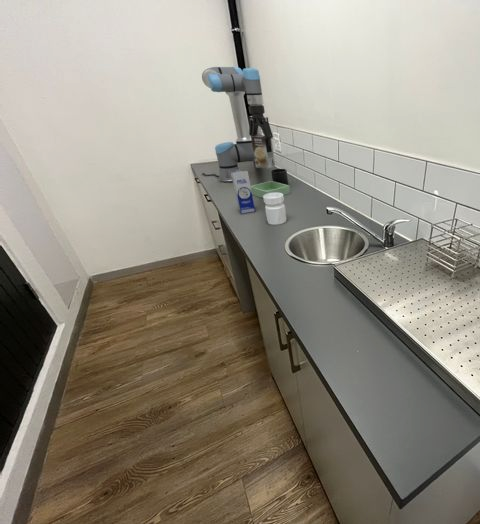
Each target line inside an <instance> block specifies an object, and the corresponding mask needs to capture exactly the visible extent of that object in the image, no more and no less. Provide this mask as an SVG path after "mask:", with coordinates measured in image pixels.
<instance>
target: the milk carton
mask: <svg viewBox="0 0 480 524" xmlns="http://www.w3.org/2000/svg"><path fill="white" fill-rule="evenodd" d="M231 176H232V180H233V182H232V185H233V188H234V193H235V199H236V203H237V206H238V211H239V212H240V215H245V214H251V213H255V212H256V207H255V203H254V198H253V195H252V192H251V186H252V185H251V181H250V178H249V177H250V176H249V170H244V171H243V170H242V169H239V170H235V173H231Z"/></svg>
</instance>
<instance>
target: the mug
mask: <svg viewBox="0 0 480 524" xmlns="http://www.w3.org/2000/svg"><path fill="white" fill-rule="evenodd" d="M270 173H271V181H274V182H277V183H281V184H285V185H289V179H288V171H287V169H286V168H275V169H272V170H270Z"/></svg>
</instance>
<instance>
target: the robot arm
mask: <svg viewBox="0 0 480 524" xmlns="http://www.w3.org/2000/svg"><path fill="white" fill-rule="evenodd" d="M201 79H202V82H203V84H204V85H205V86H206V87H208V88H209V89H210V91H211V92H213V93H225V94H226V95H227V96H228V98H229V103H230V108H231V113H232V117H233V118H232V119H233V122H234V127H235V132H236V139H235V143H234V142H233V141H226V142H222V143H221V142H220V143H218V144H215V147H214V150H215V156H216V158H217V163H218V168H219V172H218V175H217V174H214V173H212V174H211V173H210V174H206V173H205V172H202V175H204V176H206V177H210V176H212V177H213V176H215V177H216V178H218V181H219V182H220V183H233V180H232V176H231V173H235V170H240V168H239V165H238V163H247V162H248V163H249V162H255V158H254V152H253V146H252V140H251V137H252V136H256V135H258V129H259V128H260V129H261V131H262V133H263V135H265V143H266V149H267V153H268V152H272V148H271V138H272V139H273V138H274V136H273V132H272V129H271V128H272V127H271V126H270V123H269V117H268V116H264V114H265V112H266V111H265V106H264V97H263V92H262V90H263V89H262V83H261V75H260V71H259V69H258V68H252V67H251V68H250V67H247V68H243V69H241V68H240V67H237V66H211V67H208V68H206V69H205V70H204V71H203V72H202V73H201ZM245 94H246V99H247V104H248V111H249V114H250V115H248V113H247V108H246V103H245V97H244V96H245Z"/></svg>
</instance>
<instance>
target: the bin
mask: <svg viewBox="0 0 480 524" xmlns="http://www.w3.org/2000/svg"><path fill="white" fill-rule="evenodd" d="M250 186H251V192H252V196H255V197H258V198H261V199H263V196H264V195H265V194H268V193H282V194H283V196H286V195H289V194H291V187H290V185H289V184H288V185H285V184H281V183H277V182H274V181H273V180H268V181H265V182H261V183H256V184H253V185H250Z"/></svg>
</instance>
